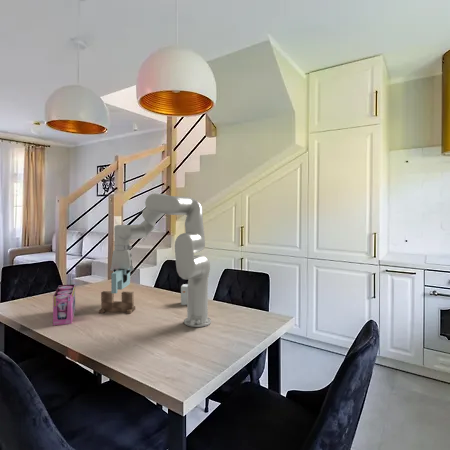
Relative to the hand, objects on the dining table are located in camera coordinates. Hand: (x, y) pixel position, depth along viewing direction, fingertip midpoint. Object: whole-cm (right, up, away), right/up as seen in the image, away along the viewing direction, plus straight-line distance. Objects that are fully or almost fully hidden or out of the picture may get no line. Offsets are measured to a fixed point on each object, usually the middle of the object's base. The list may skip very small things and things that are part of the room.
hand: (122, 281), depth 174 cm
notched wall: (0, -14, -6) cm, 15 cm away
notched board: (0, -3, -1) cm, 3 cm away
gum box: (-23, -15, -16) cm, 31 cm away
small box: (+35, -14, +8) cm, 39 cm away
